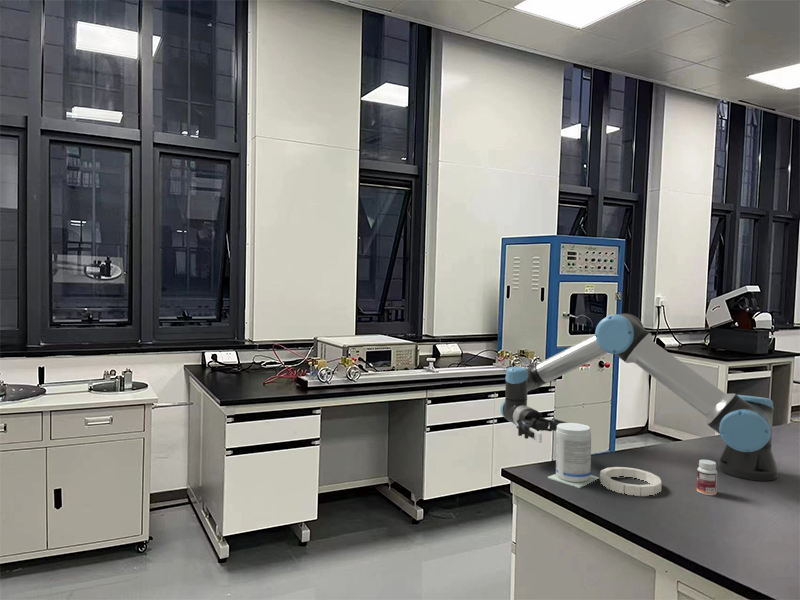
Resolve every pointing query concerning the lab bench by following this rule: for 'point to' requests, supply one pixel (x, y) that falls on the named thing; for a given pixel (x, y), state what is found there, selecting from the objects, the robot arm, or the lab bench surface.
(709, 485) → the pill bottle
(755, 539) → the lab bench surface
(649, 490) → the ring dish
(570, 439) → the supplement tub
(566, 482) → the rubber mat
